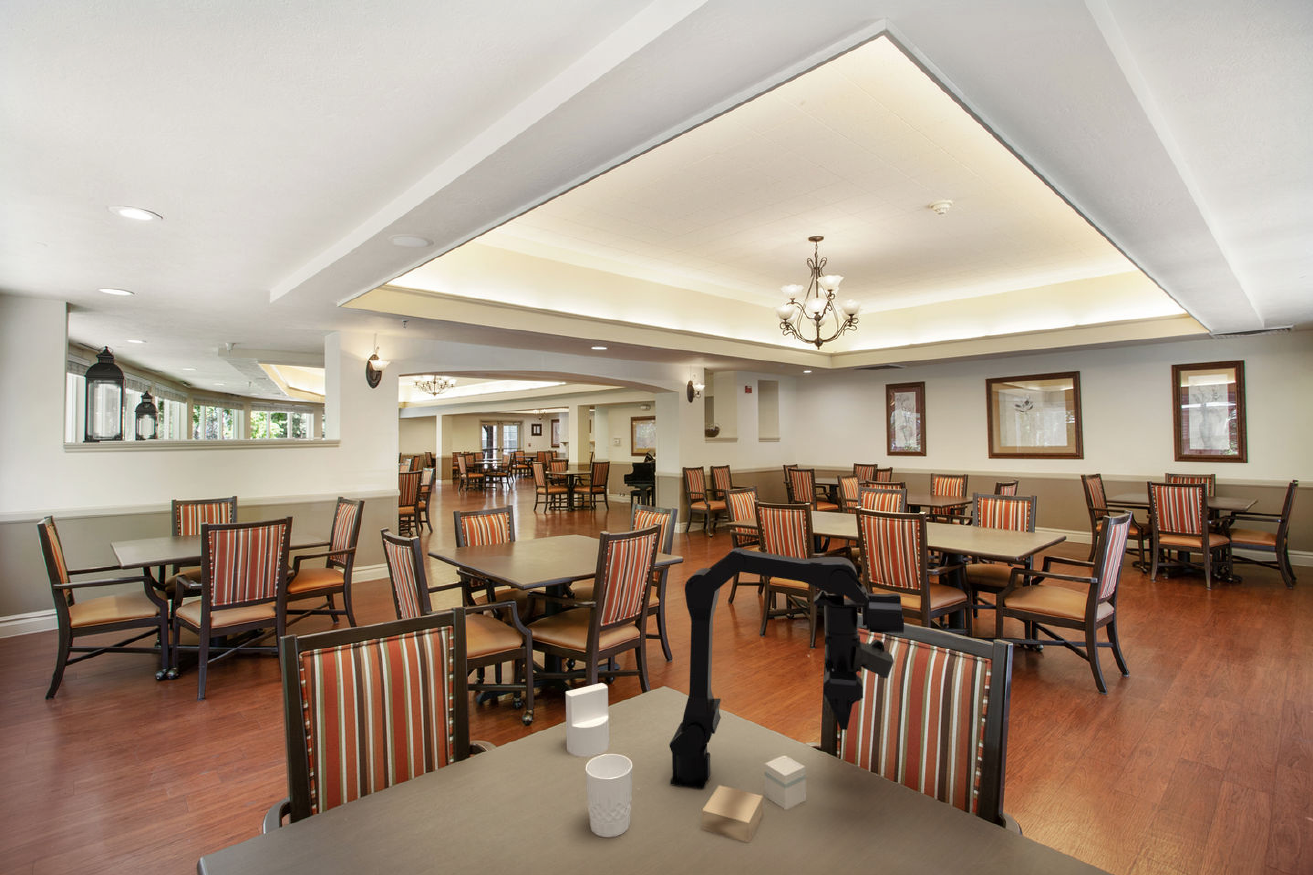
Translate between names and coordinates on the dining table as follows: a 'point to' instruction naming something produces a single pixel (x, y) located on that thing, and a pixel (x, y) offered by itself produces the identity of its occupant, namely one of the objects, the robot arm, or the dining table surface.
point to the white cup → (609, 794)
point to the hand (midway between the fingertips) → (843, 717)
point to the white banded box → (785, 782)
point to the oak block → (733, 813)
